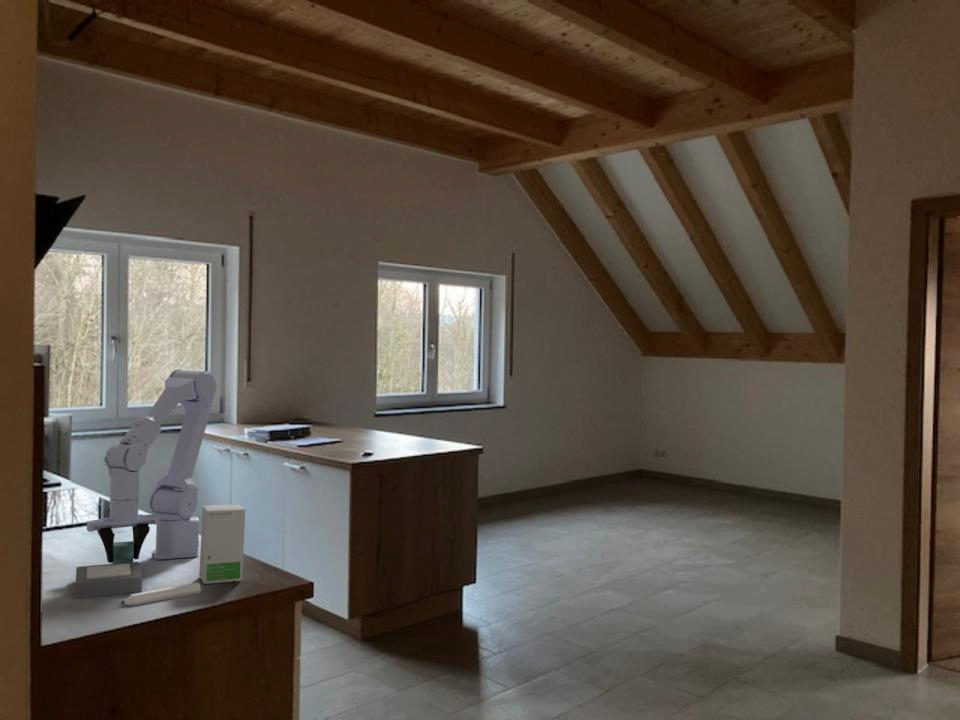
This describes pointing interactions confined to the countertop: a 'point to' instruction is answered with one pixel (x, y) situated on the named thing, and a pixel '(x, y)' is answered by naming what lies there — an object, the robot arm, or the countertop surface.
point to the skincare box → (222, 543)
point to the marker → (162, 594)
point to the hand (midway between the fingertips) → (122, 560)
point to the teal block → (123, 552)
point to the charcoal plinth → (108, 579)
